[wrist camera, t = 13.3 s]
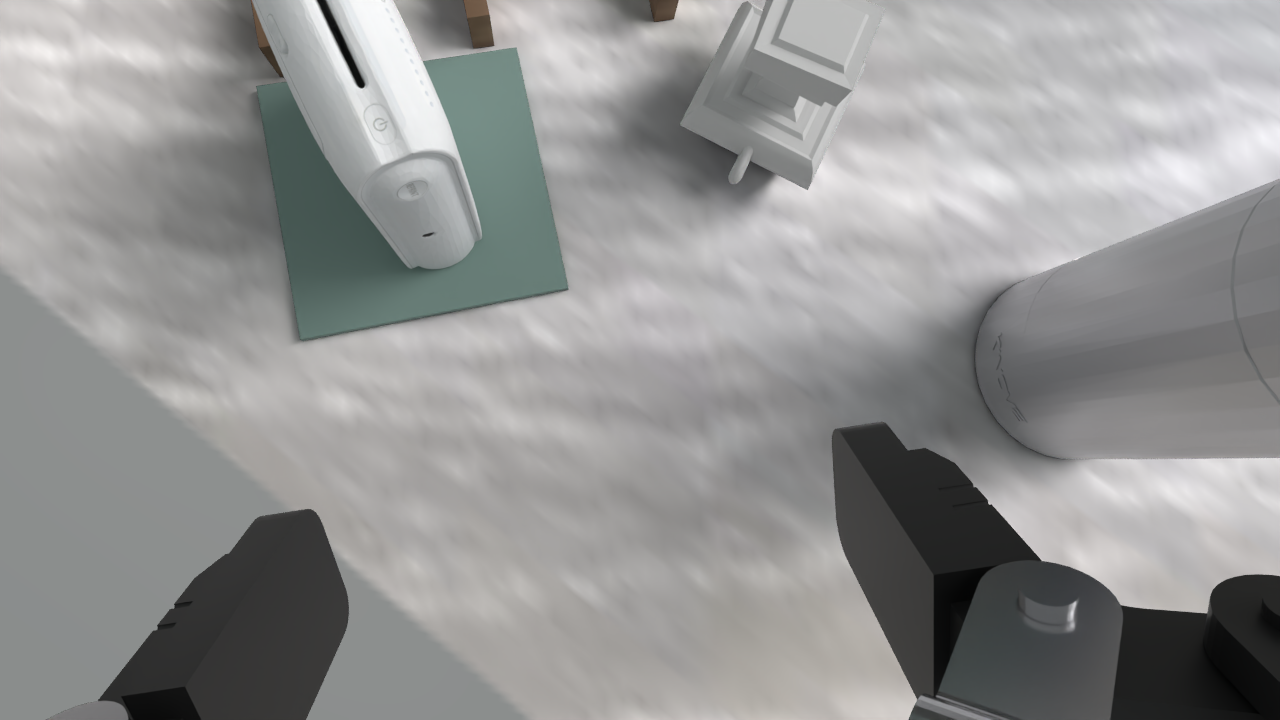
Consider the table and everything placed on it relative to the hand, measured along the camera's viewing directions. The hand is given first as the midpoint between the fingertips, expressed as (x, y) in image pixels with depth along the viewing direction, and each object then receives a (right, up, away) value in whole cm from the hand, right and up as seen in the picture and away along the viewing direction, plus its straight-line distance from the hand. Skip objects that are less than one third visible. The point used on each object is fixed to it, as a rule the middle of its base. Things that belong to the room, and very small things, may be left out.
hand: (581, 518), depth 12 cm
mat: (-10, +10, +23) cm, 27 cm away
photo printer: (-10, +11, +23) cm, 27 cm away
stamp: (+7, +14, +26) cm, 30 cm away
